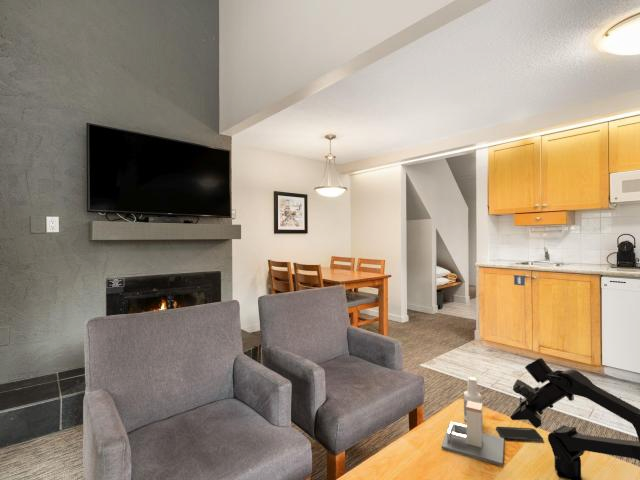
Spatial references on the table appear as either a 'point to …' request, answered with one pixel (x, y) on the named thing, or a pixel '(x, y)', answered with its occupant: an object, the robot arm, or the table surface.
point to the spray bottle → (471, 393)
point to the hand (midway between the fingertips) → (511, 418)
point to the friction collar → (457, 434)
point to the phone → (519, 434)
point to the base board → (479, 449)
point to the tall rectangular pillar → (474, 423)
